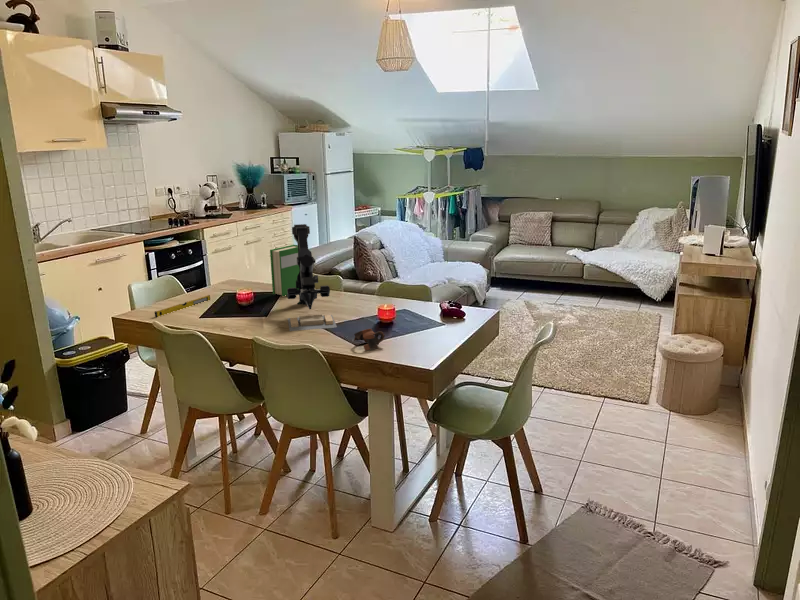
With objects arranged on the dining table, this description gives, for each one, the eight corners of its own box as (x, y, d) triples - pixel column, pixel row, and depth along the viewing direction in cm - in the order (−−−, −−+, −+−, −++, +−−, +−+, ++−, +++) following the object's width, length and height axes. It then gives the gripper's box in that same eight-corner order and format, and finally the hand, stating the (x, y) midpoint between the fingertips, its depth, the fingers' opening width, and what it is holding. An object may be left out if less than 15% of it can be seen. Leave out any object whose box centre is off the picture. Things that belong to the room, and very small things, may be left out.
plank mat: (287, 320, 272) (287, 314, 272) (332, 317, 277) (331, 311, 276) (289, 333, 254) (289, 327, 254) (337, 329, 259) (336, 323, 258)
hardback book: (283, 296, 313) (280, 251, 307) (272, 295, 317) (269, 249, 311) (306, 289, 327) (304, 245, 321) (296, 287, 331) (293, 244, 325)
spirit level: (157, 318, 280) (156, 311, 279) (155, 317, 280) (154, 311, 279) (210, 300, 308) (210, 295, 307) (208, 300, 309) (208, 294, 308)
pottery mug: (358, 353, 232) (351, 333, 234) (358, 355, 242) (352, 336, 243) (387, 343, 233) (381, 323, 235) (387, 346, 243) (381, 327, 244)
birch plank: (299, 316, 268) (300, 321, 260) (321, 314, 270) (323, 319, 262) (299, 320, 268) (300, 325, 261) (322, 318, 270) (323, 324, 263)
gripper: (286, 270, 266) (288, 301, 259) (328, 268, 270) (332, 298, 263) (286, 283, 276) (288, 313, 268) (327, 280, 280) (330, 310, 272)
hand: (310, 308), depth 268 cm, fingers closed
